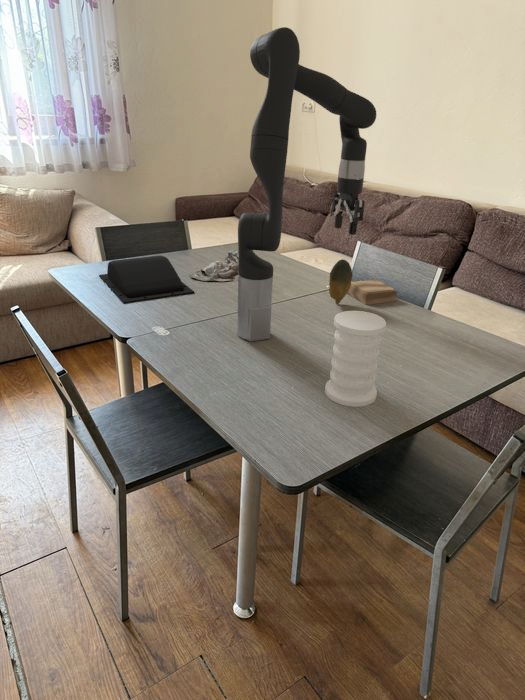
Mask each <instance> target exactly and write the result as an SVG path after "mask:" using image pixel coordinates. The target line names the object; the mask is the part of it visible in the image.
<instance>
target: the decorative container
mask: <svg viewBox="0 0 525 700" xmlns="http://www.w3.org/2000/svg"><path fill="white" fill-rule="evenodd" d="M333 321H334V322H333V326H334V327H335V328H336V330H335V331H334V335H333V336H334V341H335V343H334V344H333V346H332V352H333V356H332V357H331V362H330V363H331V367H332V368H331V370H330V372H329V377H330V378H329V380H327V381H326V383H325V387H324V388H325V389H324V393H325V395H326V397H327V398H328V399H330V400H331V401H332V402H334V403H336V404H338V405H342V406H345V407H353V408H355V407H356V408H357V407H358V408H359V407H365V406H369V405H371V404H372V403H374V402H375V401H376V398H377V395H378V391H377V388H376V386H375V384H376V372H377V370H378V367H379V366H378V360H379V358H380V352H381V351H380V346H381V345H382V341H383V338H382V334H383V333H385V331H386V329H387V328H386V327H387V322H386V320H385V319H384V318H383V317H381V315H378V314H376V313H372V312H369V311H362V310H346V311H341V312H339V313H337V314H335V316H334V320H333Z"/></svg>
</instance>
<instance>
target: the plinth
mask: <svg viewBox="0 0 525 700" xmlns="http://www.w3.org/2000/svg"><path fill="white" fill-rule="evenodd" d="M397 294H398V291H397V290H396V289H395V288H394V287H392V286H390V285H388V284H386V283H384V282H383V281H380V280H378V279H370V280H369V279H368V280H360V281H359V280H358V281H351V287H350V289H349V291H348V292H347V295H349V296H351V297H352V298H353V299H356V300H357V301H359V302H360V303H361V304H364V305H374V304H382V303H383V304H384V303H390V302H392V303H393V302H396V300H397Z"/></svg>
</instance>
